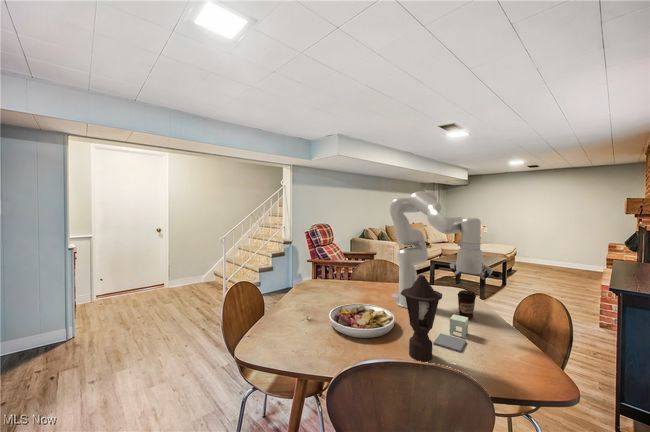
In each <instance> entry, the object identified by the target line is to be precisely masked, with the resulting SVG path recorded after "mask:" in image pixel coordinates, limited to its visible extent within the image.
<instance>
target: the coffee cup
mask: <svg viewBox="0 0 650 432" xmlns="http://www.w3.org/2000/svg"><path fill="white" fill-rule="evenodd" d="M456 295H457V298H458V299H457V301H458V302H457V303H458V315H459V316H463V317H468V321H470V320H471V321H472V320H474V311H475V305H476V304H475V303H476V298H477V295H476V292H475V291H473V290H467V289H464V290H463V289H462V290H459V292H458V293H457V294H456Z"/></svg>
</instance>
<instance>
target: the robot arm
mask: <svg viewBox="0 0 650 432" xmlns="http://www.w3.org/2000/svg"><path fill="white" fill-rule="evenodd" d="M389 205H390V206H389V214H390V216H391V220H392V222H393V227H394V233H395V237H396V242H397V244H398V245H399V246H401V247H406V248H402V249H400V250H399V251H398V252H397V256H396V257H397V263H398V293H397V294H396V293H392V296H391V297H392V299H395V304H396V305H397V306H398V307H401V308H405V309H408V308H407V302H406V297H404V296H403V295H401V292H402V290H404V289H407V288H411V287H412V286H413V284H414V283H415V281H416V280H417V278H418V273H417V269H416V268H415V266H417V265H422V264H426V262H427V261H428V258H429V257H428V255H429V254H428V249H427V248H428V247H427V244H426V239H425V236H424V234H423V232H422V231H421V230H420V229H418V228H411V226H410V221H409V219H408V217H407V216H406V215H405V214H406V213H410V214H411V213H419V212H421V213H422V214H424V216H426V217H427V218H426V219H427V221H428V223H429V224H430V225H431V226H432V227H433V228H434V229H435V230H437V231H438V232H440V233H442V234H444V235H450V234H451V235H452V234H460V242H457V244H456V245H457V246H458V247H460V248H458V250H457V255H456V261H454V262H451V263H449V267H450V269H451V271H452V272H453V274H454V275H455V278H454V279H455V280H454V281H455V283H456V285H459V284H460V283H461V274H460V273H465V274H470V275H478V276H479V278H480V279H479V289H481V290H483V289H485V287H486V280H487V278H488V277H490V276H491V274H492V273H493V271H494V269H492V268H491V267H489V266H488V265H487V264H484V263H485V262H484V254H483V253H484V252H483V250H482V249H481V233H482V232H481V231H482V230H481V226H482V222H481V219H480V218H476V217H463V216H448V217H447V216H445V215H443V214H442V213H440V212H441V210H442V205H441V203H440V202H439V201H438V198H437V195H436V194H435V193H434V192H432V191H419V190H418V191H415V192H413V193H412V194H411V195H410V196H409V197H397V198H395V199H393V200H392V201H391V203H390V204H389ZM411 246H412V247H411ZM484 271H487V272H486V273H484Z"/></svg>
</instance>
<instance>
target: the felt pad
mask: <svg viewBox="0 0 650 432" xmlns="http://www.w3.org/2000/svg"><path fill="white" fill-rule="evenodd" d="M466 343H467V340H466V339H464V338H460V337H455V336H453V335H448V334H444V333H439V334H438V336H437V338H435V339H434V341H432V345H434V346H438V347H440V348H445V349H448V350H451V351H454V352H458V353H462V351H463V348H464V347H465V345H466Z"/></svg>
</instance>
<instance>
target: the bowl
mask: <svg viewBox="0 0 650 432" xmlns="http://www.w3.org/2000/svg"><path fill="white" fill-rule="evenodd" d="M328 319H329V323H330V325H331V326H332V327H333V329H335V330H336V331H338V332H339V333H341V334H343V335H346V336H348V337H353V338H360V339H368V338H369V339H371V338H372V339H373V338H377V337H381V336H384V335H386V334H387V333H389V332H390V331H391V330H392V329H393V327H394V325H395V322H396V321H395V315H394V314H393V313H392V312H391V311H389V310H388V309H386V308H384V307H380V306H378V305H373V304H368V303H347V304H342V305H339V306H336V307H334V308H332V309H331V310H330V311H329V314H328Z"/></svg>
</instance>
